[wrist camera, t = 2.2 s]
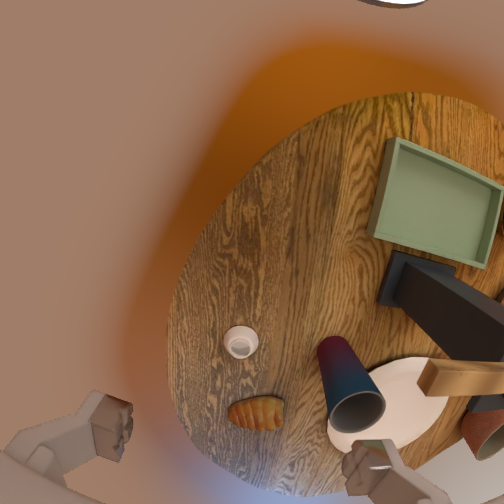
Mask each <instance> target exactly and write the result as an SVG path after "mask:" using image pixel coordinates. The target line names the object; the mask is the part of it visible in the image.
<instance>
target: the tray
mask: <svg viewBox="0 0 504 504" xmlns="http://www.w3.org/2000/svg"><path fill="white" fill-rule="evenodd" d="M503 194H504V187H503V186H501V185H500V184H498V183H496V182H494V181H492V180H490V179H489V178H487V177H485V176H483V175H481V174H479V173H477V172H475V171H473V170H471V169H469V168H467V167H465V166H463V165H461V164H459V163H457V162H455V161H453V160H451V159H449V158H446V157H444V156H442V155H440V154H438V153H435V152H433V151H431V150H429V149H426V148H424V147H421V146H419V145H417V144H414V143H412V142H409V141H407V140H404V139H402V138H399V137H393V138H389V139H387V144H386V149H385V154H384V159H383V163H382V168H381V173H380V177H379V182H378V186H377V190H376V195H375V199H374V203H373V207H372V211H371V215H370V219H369V223H368V226H367V230H366V234H368V235H370V236H372V237H374V238H377V239H381V240H385V241H388V242H392V243H396V244H399V245H403V246H406V247H410V248H414V249H417V250H421V251H424V252H427V253H431V254H434V255H438V256H441V257H444V258H448V259H451V260H454V261H458V262H461V263H464V264H468V265H471V266H474V267H477V268H480V269H483V270H485V268H486V265H487V261H488V258H489V254H490V251H491V247H492V244H493V240H494V236H495V232H496V228H497V224H498V219H499V215H500V210H501V205H502V200H503Z"/></svg>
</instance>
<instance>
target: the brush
mask: <svg viewBox="0 0 504 504" xmlns="http://www.w3.org/2000/svg"><path fill="white" fill-rule="evenodd" d="M417 385H418V386H419V388H420V389H421V391H422V392H423V394H424V395H425V396H426V397H446V396H475V395H490V394H502V397H503V398H504V362H479V361H460V360H446V359H433V358H429V359H428V361H427V363H426V365H425V367H424V369H423V371H422V373H421V375H420V377H419V379H418V381H417Z"/></svg>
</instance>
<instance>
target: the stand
mask: <svg viewBox="0 0 504 504" xmlns="http://www.w3.org/2000/svg"><path fill="white" fill-rule="evenodd" d="M455 272H456V268H455V267H453V266H450V265H447V264H443V263H440V262H436V261H433V260H429V259H426V258H422V257H418V256H415V255H411V254H407V253H404V252H400V251H396V250H392V254H391V257H390V260H389V264H388V267H387V270H386V273H385V276H384V279H383V282H382V286H381V288H380V291H379V294H378V297H377V300H376V302H377V303H378V304H381V305H386V306H391V307H397V308H401V309H402V310H403V311H404V312H405V313H406V314H407V315H408V316H409V317H410V318H412V319H413V320H414V321H415V322H416V323H417V324H418V325H419V326H420V327H421V328H422V329H423V330H424V331H425V332H426V333H427V334H428V335H429V336H430V338H431V339H432V340H433V341H434V342H435V343H436V344H437V345H438V346H439V347H440V348H441V349H442V350H443V351H444V352H445V353H446V354H447V355H448V356H449V357H450V358H451V359H452V360H460V361H479V362H504V306H503V305H501V304H500V303H498V302H496V301H495V300H493V299H491V298H490V297H488V296H486V295H485V294H483V293H481V292H480V291H478V290H476V289H475V288H473V287H471V286H470V285H468V284H466V283H464V282H463V281H461V280H459V279H457V278H456V277H454V275H455ZM466 407H467V409H468V410H469V411H470V412H471V413H476V412H485V411H493V410H500V409H504V398H503V397H502V394H490V395H475V396H472V397H471V399H470V401H469V402H468V404H467V406H466Z"/></svg>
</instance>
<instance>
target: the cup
mask: <svg viewBox="0 0 504 504" xmlns="http://www.w3.org/2000/svg"><path fill="white" fill-rule="evenodd" d="M317 356H318V361H319V366H320V371H321V377H322V382H323V387H324V393H325V398H326V404H327V409H328V415H329V421H330V424H331V426H332V427H333V428H334V429H335V430H336V431H339V432H341V433H357V432H361V431H363V430H366V429H368V428H370V427H371V426H373V425H374V424H375V423H376V422H378V421H379V420H380V418H381V417H382V416H383V414H384V412H385V409H386V401H385V399H384V397H383V395H382V394H381V392H380V391H379V389H378V388H377V386H376V385H375V383H374V382H373V380H372V379H371V377H370V375H369V374H368V372H367V371H366V369H365V368H364V366H363V365H362V363H361V362H360V360H359V359H358V357H357V356H356V354H355V353H354V351H353V350H352V348H351V347H350V345H349V344H348V342H347V341H346V340H345V339H344V338H342V337H340V336H331V337H328V338H326V339H324V340H323V341H322V342H321V343H320V345H319V346H318V349H317Z"/></svg>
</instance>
